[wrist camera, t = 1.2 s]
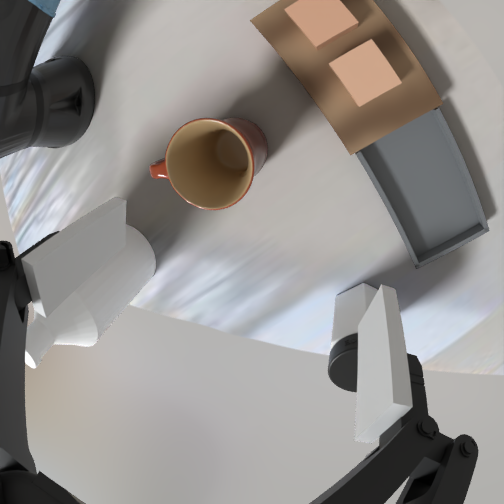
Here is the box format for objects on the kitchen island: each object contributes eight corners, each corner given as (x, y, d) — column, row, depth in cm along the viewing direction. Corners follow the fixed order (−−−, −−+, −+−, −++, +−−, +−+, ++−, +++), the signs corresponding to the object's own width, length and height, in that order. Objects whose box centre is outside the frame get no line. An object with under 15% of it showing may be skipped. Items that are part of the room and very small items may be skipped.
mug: (271, 106, 33) (245, 110, 24) (281, 178, 37) (260, 207, 28) (178, 122, 37) (130, 134, 28) (191, 186, 40) (149, 215, 32)
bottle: (90, 238, 50) (-14, 322, 29) (128, 209, 45) (2, 303, 24) (127, 292, 54) (40, 389, 32) (170, 272, 48) (72, 390, 27)
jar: (403, 300, 40) (414, 363, 30) (372, 337, 44) (372, 400, 34) (350, 273, 40) (349, 335, 30) (321, 314, 45) (311, 377, 34)
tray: (354, 150, 33) (355, 154, 31) (433, 106, 28) (438, 107, 26) (413, 260, 37) (416, 269, 35) (483, 223, 32) (489, 230, 30)
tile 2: (288, 15, 25) (283, 9, 23) (326, -8, 22) (325, -16, 20) (317, 50, 26) (316, 47, 24) (357, 27, 24) (358, 22, 22)
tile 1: (329, 65, 27) (328, 63, 24) (369, 43, 24) (371, 38, 22) (357, 106, 28) (359, 106, 26) (397, 83, 25) (402, 82, 23)
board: (256, 26, 29) (249, 20, 26) (341, -25, 23) (341, -35, 20) (349, 150, 33) (350, 155, 30) (435, 102, 27) (443, 103, 25)
